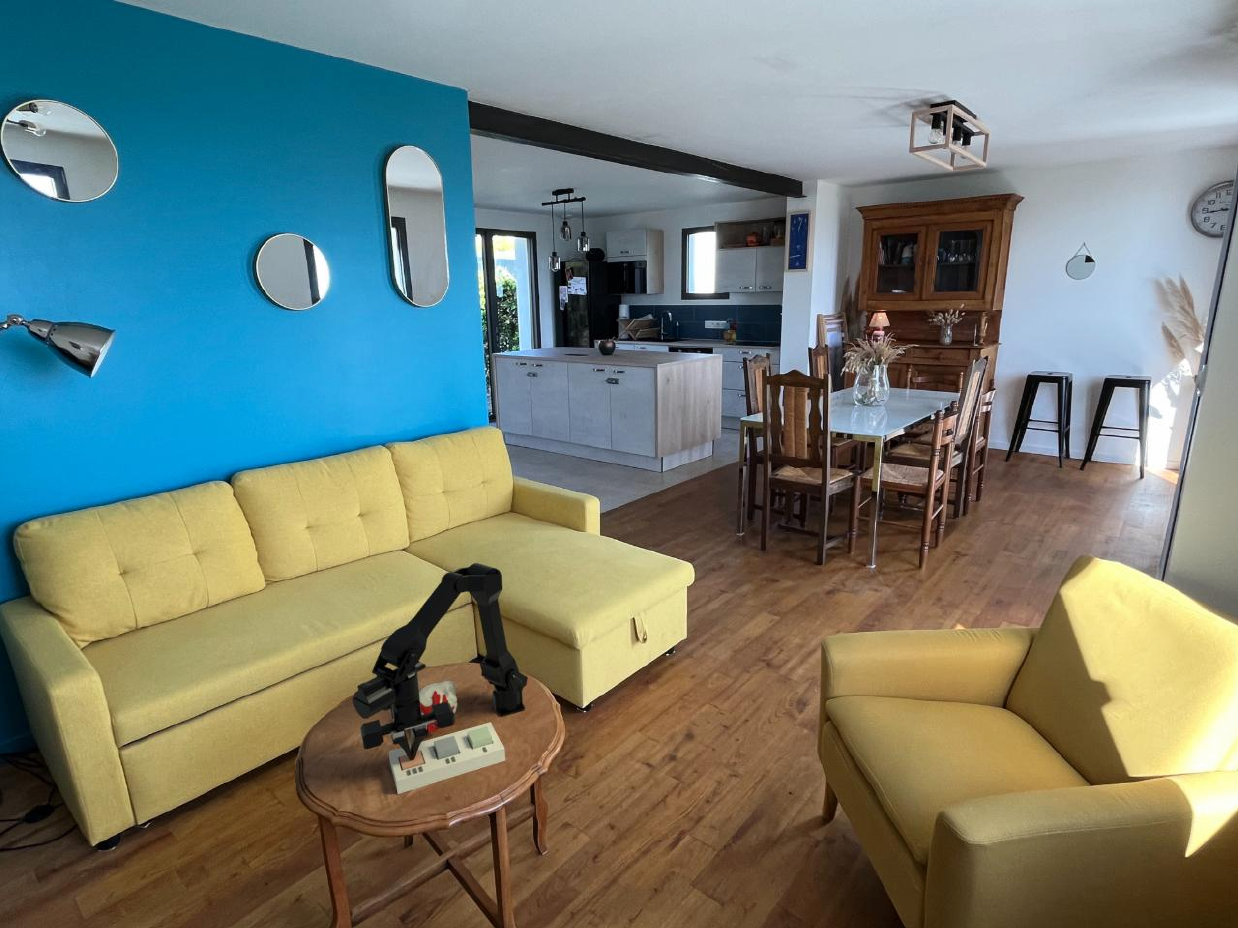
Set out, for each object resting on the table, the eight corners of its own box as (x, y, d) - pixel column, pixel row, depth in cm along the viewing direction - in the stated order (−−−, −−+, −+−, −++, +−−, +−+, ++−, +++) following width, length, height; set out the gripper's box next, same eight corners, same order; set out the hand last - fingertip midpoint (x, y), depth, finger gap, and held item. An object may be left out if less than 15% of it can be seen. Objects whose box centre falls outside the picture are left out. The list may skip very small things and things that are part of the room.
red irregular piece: (456, 699, 175) (461, 740, 161) (410, 706, 172) (411, 749, 158) (454, 669, 172) (458, 709, 158) (407, 677, 169) (407, 717, 155)
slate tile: (454, 744, 154) (453, 735, 154) (459, 755, 150) (458, 746, 150) (434, 749, 152) (433, 741, 152) (438, 761, 148) (438, 752, 148)
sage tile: (487, 734, 157) (486, 726, 157) (492, 745, 153) (491, 736, 153) (468, 740, 155) (467, 731, 155) (473, 751, 152) (472, 742, 151)
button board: (491, 733, 161) (490, 721, 161) (505, 760, 152) (504, 747, 151) (389, 763, 152) (388, 750, 151) (397, 793, 142) (396, 780, 141)
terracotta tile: (420, 758, 151) (420, 750, 151) (424, 770, 147) (423, 761, 147) (400, 765, 149) (399, 756, 149) (403, 777, 145) (402, 768, 145)
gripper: (441, 665, 155) (447, 726, 159) (354, 687, 147) (361, 750, 151) (452, 690, 145) (458, 754, 149) (359, 714, 138) (367, 781, 141)
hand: (411, 759), depth 148 cm, fingers closed, pressing on terracotta tile
